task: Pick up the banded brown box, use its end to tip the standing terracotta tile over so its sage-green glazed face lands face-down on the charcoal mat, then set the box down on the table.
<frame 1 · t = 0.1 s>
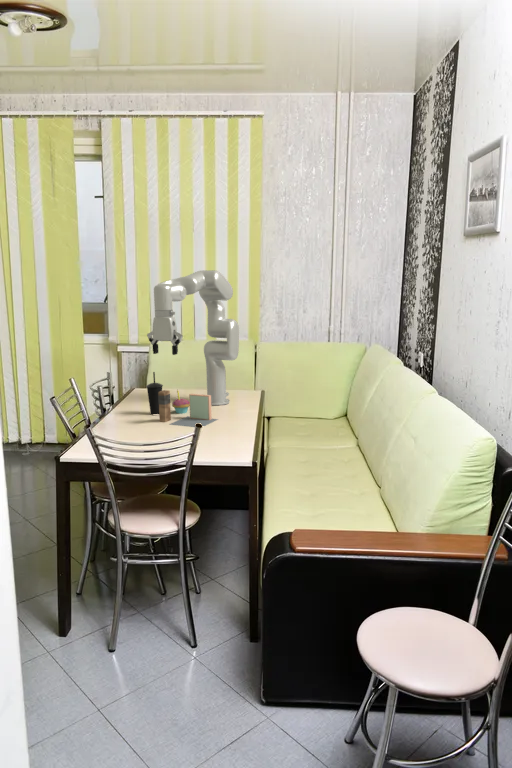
hand: (165, 354, 268), 31 cm above the table, tool pointing down, fingers open, 9 cm apart
tile: (200, 418, 279), point 1 cm above the table, touching mat
mat: (194, 423, 274), on the table
cupcake: (181, 413, 292), on the table
banded brown box: (165, 422, 276), on the table
drinking cup: (155, 414, 293), on the table
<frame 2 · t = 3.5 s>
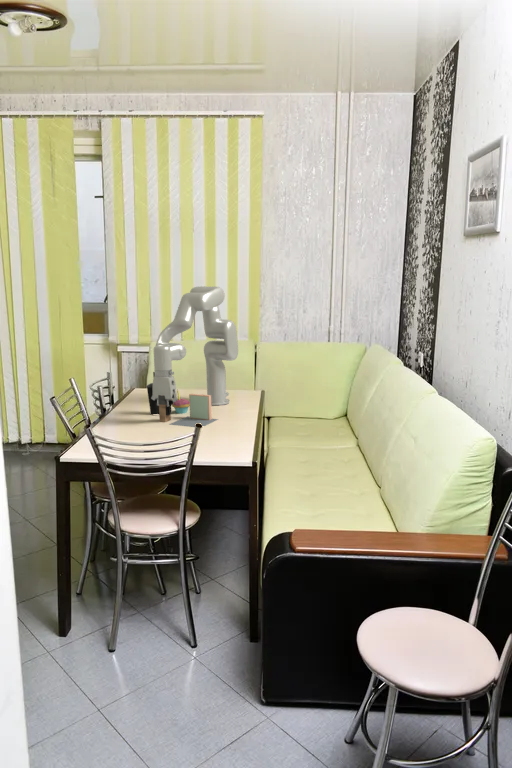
hand: (165, 413, 276), 4 cm above the table, tool pointing down, fingers closed on banded brown box, 3 cm apart
banded brown box: (165, 422, 276), on the table, touching gripper
everything else where it was.
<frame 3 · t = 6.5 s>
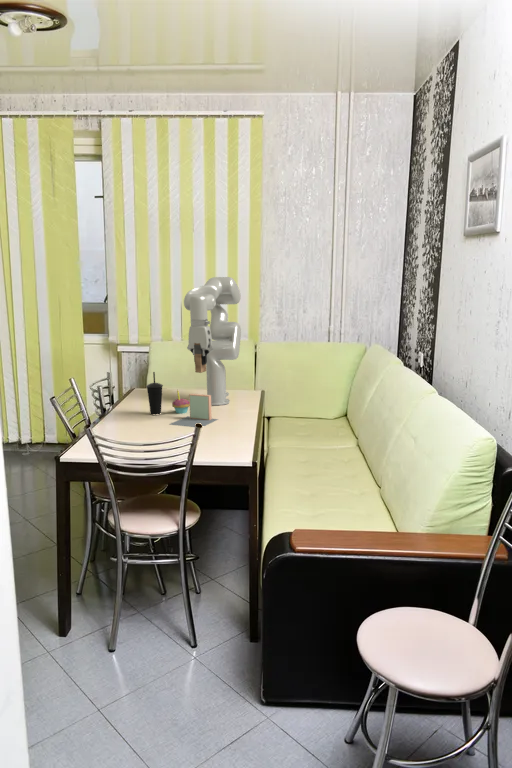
hand: (200, 363, 280), 25 cm above the table, tool pointing down, fingers closed on banded brown box, 3 cm apart
banded brown box: (200, 371, 281), point 21 cm above the table, touching gripper
everything else where it was.
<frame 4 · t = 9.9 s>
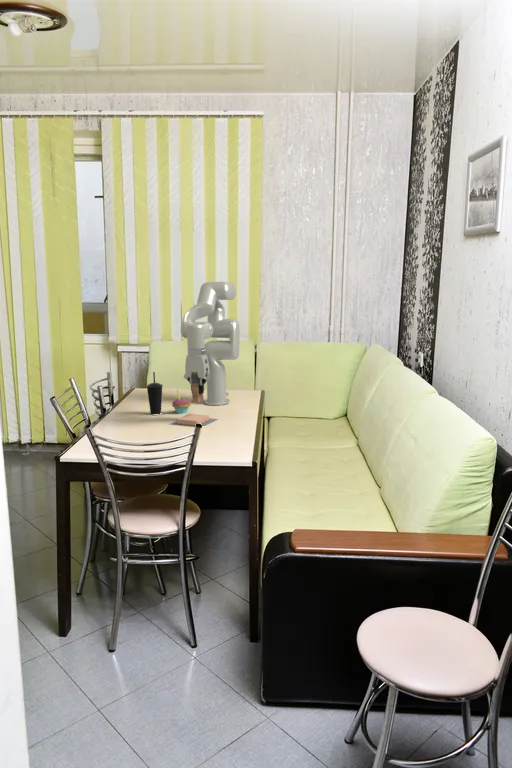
hand: (197, 392, 275), 13 cm above the table, tool pointing down, fingers closed on banded brown box, 3 cm apart
tile: (199, 416, 278), point 2 cm above the table, tilted 90°, touching mat
banded brown box: (197, 401, 276), point 9 cm above the table, touching gripper
everything else where it was.
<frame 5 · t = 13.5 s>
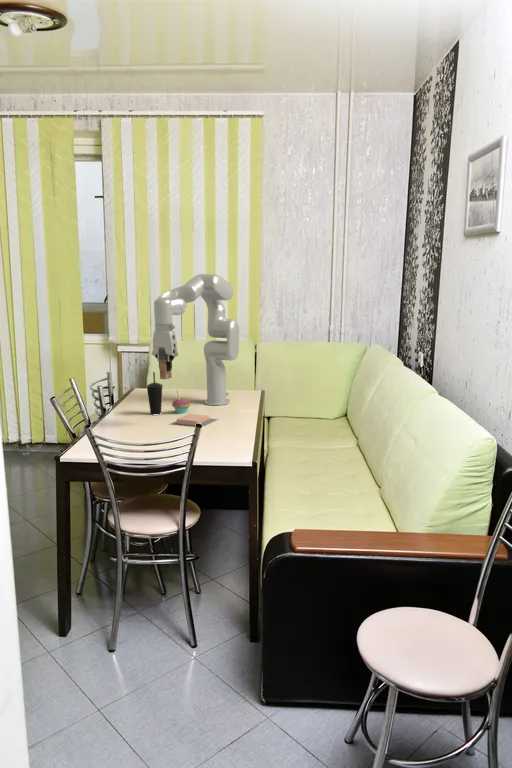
hand: (165, 369, 270), 24 cm above the table, tool pointing down, fingers closed on banded brown box, 3 cm apart
banded brown box: (165, 378, 271), point 20 cm above the table, touching gripper
everything else where it was.
when the fingers open (6 cm above the table, at t = 16.9 s): banded brown box drops 2 cm, on the table.
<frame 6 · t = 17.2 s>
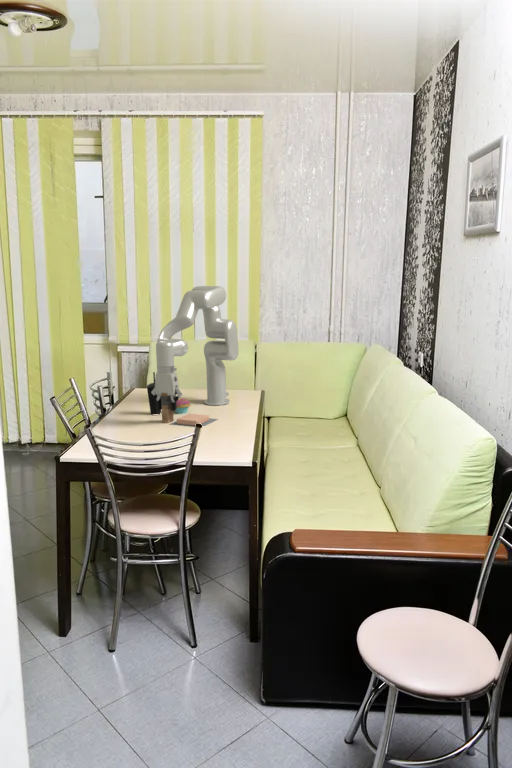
hand: (167, 409, 274), 6 cm above the table, tool pointing down, fingers open, 6 cm apart
banded brown box: (168, 423, 275), on the table
everything else where it was.
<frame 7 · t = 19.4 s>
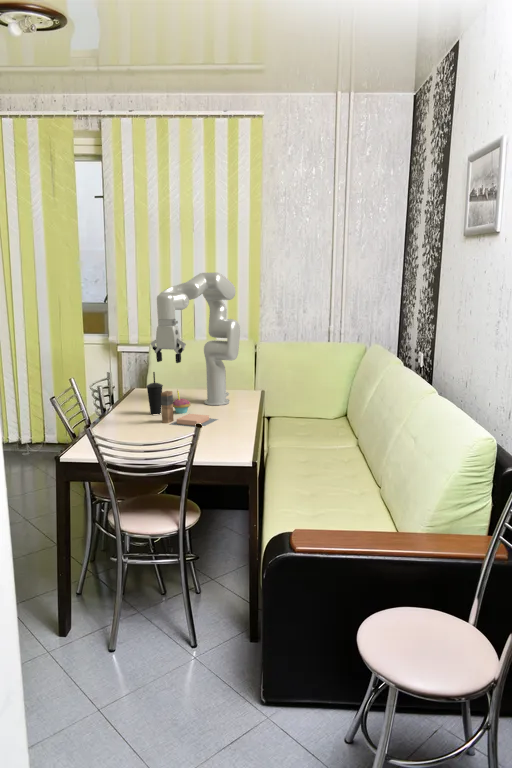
hand: (168, 362, 272), 27 cm above the table, tool pointing down, fingers open, 9 cm apart
nothing on the table moved.
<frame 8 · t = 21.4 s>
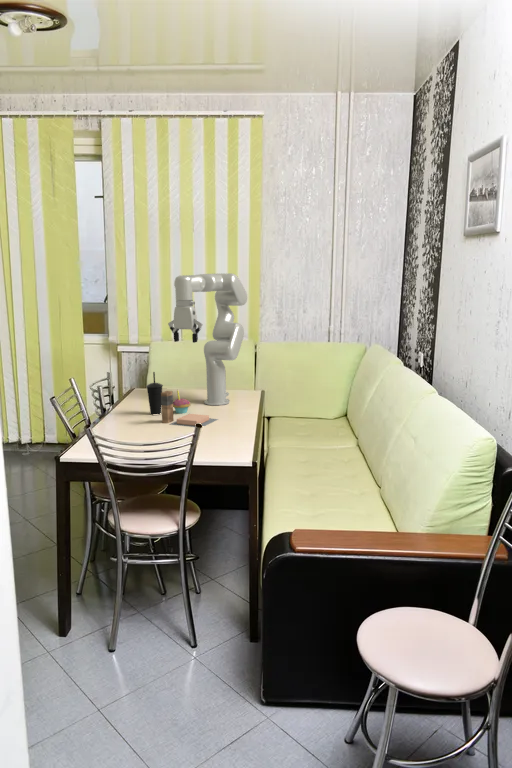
hand: (185, 341, 282), 34 cm above the table, tool pointing down, fingers open, 9 cm apart
nothing on the table moved.
at the end: tile tilted 90°; tile inside the target area on the mat (4.2 cm from its centre), point 1.8 cm above the mat's base; the gripper is holding nothing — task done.
